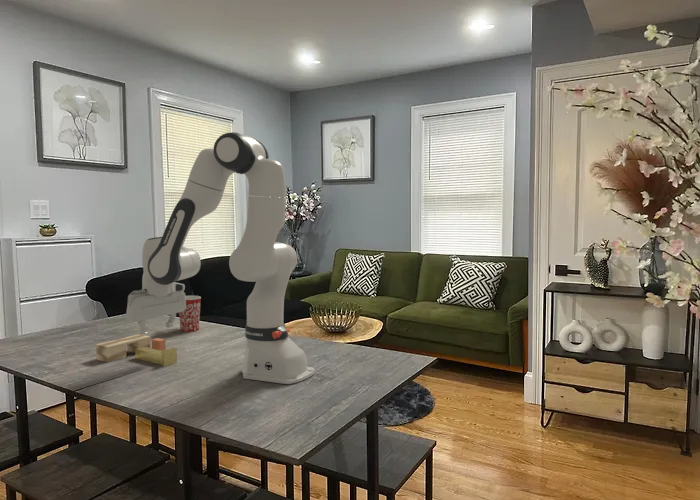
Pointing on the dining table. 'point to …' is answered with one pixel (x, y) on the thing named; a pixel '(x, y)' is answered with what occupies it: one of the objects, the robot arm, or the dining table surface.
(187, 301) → the mug
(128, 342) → the block
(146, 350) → the pin
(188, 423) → the dining table surface
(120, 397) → the dining table surface
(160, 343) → the orange block
